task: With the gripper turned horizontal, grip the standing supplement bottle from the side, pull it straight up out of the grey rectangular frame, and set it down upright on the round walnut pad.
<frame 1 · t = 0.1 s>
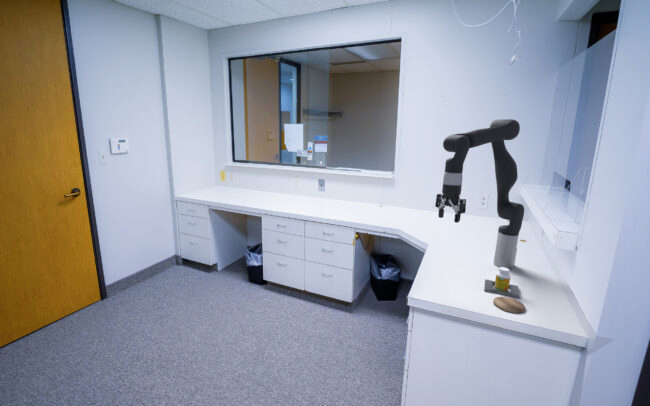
hand: (448, 219, 141), 29 cm above the counter, tool pointing down, fingers open, 8 cm apart
supplement bottle: (501, 290, 141), resting in grey rectangular frame
walnut pad: (508, 305, 128), on the counter
grey rectangular frame: (501, 289, 141), on the counter
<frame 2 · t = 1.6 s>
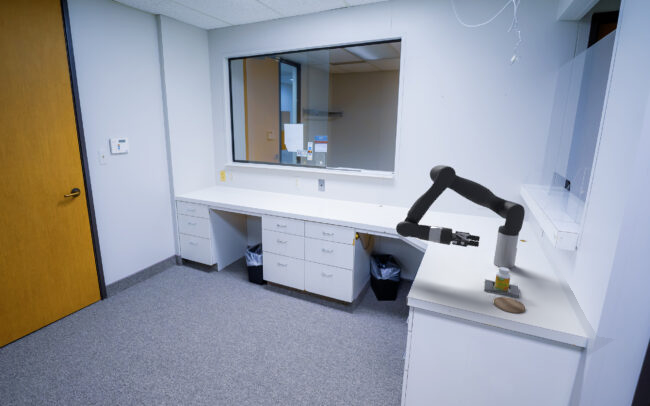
hand: (479, 241, 141), 20 cm above the counter, tool horizontal, fingers open, 8 cm apart
nothing on the counter moved.
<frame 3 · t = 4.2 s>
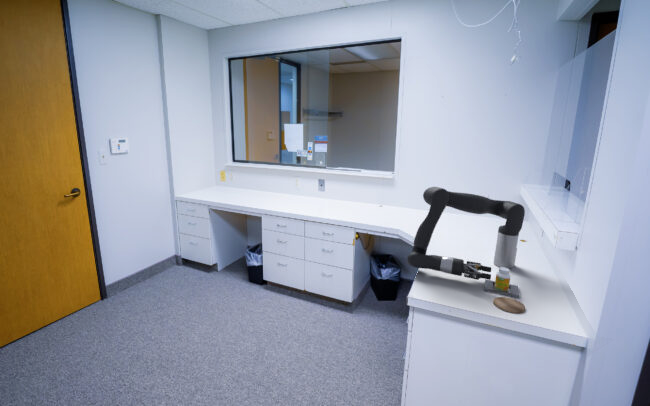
hand: (491, 273, 142), 6 cm above the counter, tool horizontal, fingers open, 8 cm apart
nothing on the counter moved.
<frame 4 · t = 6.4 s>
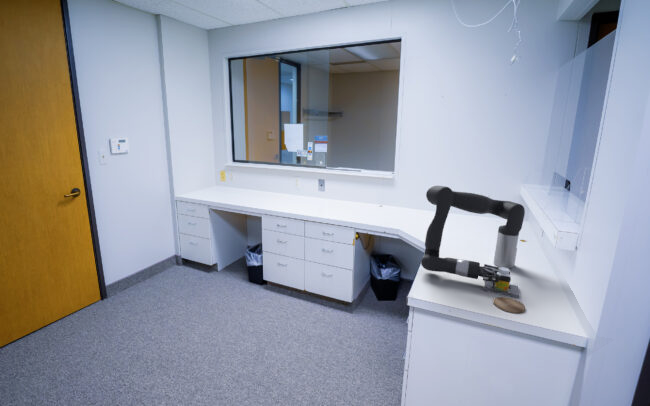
hand: (509, 276, 138), 7 cm above the counter, tool horizontal, fingers closed on supplement bottle, 5 cm apart
supplement bottle: (501, 290, 141), resting in grey rectangular frame, touching gripper
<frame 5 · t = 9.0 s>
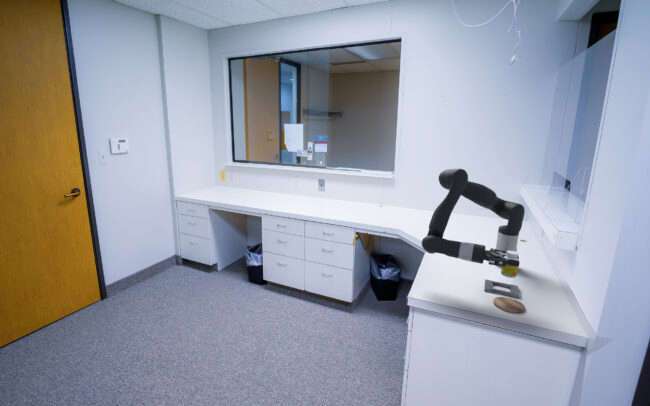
hand: (518, 261, 126), 18 cm above the counter, tool horizontal, fingers closed on supplement bottle, 5 cm apart
supplement bottle: (508, 275, 129), point 11 cm above the counter, touching gripper
when the fingers open (8 cm above the counter, at t = 11.9 s): supplement bottle stays where it is, resting on walnut pad.
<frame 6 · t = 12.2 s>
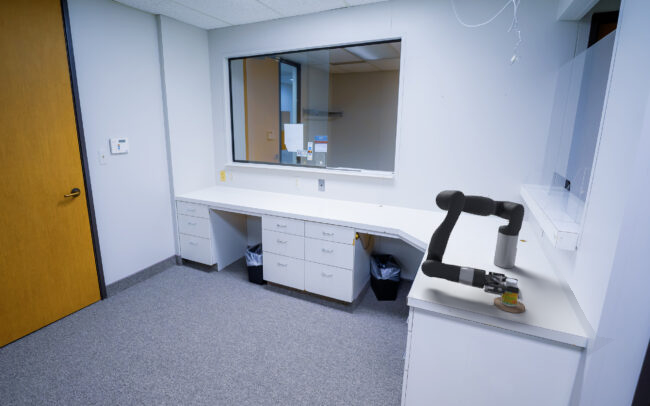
hand: (518, 286, 125), 9 cm above the counter, tool horizontal, fingers open, 8 cm apart
supplement bottle: (508, 304, 128), point 1 cm above the counter, touching walnut pad
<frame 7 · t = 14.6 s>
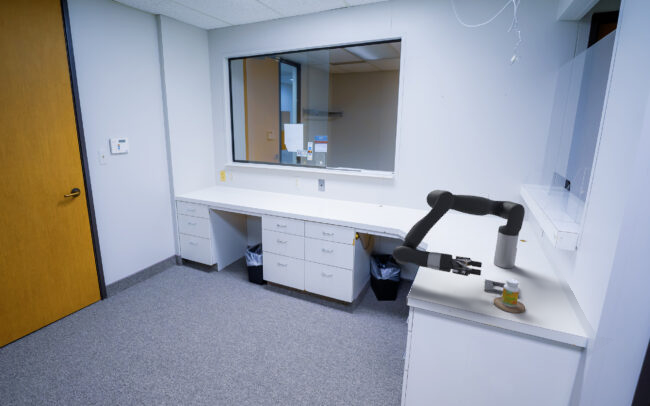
hand: (481, 268, 132), 12 cm above the counter, tool horizontal, fingers open, 8 cm apart
nothing on the counter moved.
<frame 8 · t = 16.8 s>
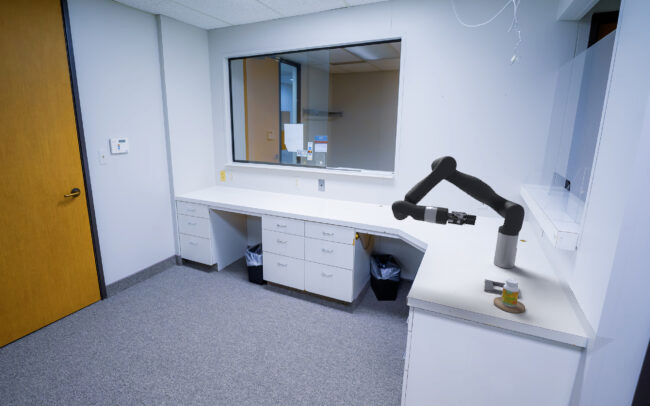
hand: (475, 220, 138), 30 cm above the counter, tool horizontal, fingers open, 8 cm apart
nothing on the counter moved.
at the end: supplement bottle 0.1 cm off-centre on the walnut pad, point 0.6 cm above the walnut pad's base; supplement bottle tilted 0°; the gripper is holding nothing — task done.
